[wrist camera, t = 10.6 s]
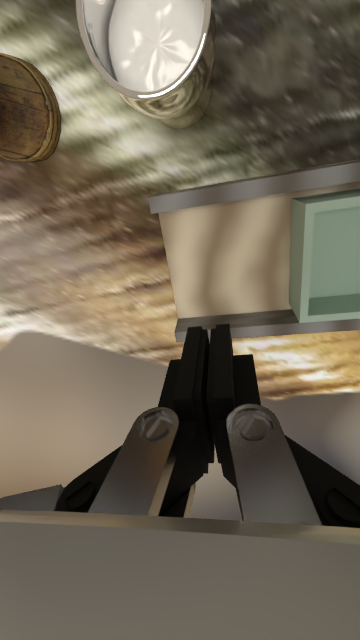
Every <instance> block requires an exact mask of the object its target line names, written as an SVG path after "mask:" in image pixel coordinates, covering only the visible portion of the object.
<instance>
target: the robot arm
mask: <svg viewBox="0 0 360 640" xmlns="http://www.w3.org/2000/svg"><path fill="white" fill-rule="evenodd" d="M214 446H215V448H216V453H217V458H218V463H221V465H222V471H223V476H224V477H225V478H226V479H227V480H228V481H229V482H230V483H231V484H232V485H233V486H234V487H235V488H236V492H237V498H238V503H239V508H240V514H241V519H242V521H233V520H215V519H197V518H189V516H190V512H191V507H192V503H193V499H194V494H195V487H196V484H195V482H196V481H198V480H199V479H200V478H201V477H202V476H203V473H208V463H214ZM0 640H360V485H358V484H356V483H355V482H353V481H352V480H351V479H349V478H348V477H346V476H345V475H343V474H342V473H340V472H339V471H337V470H336V469H334V468H333V467H332V466H330V465H329V464H327V463H326V462H324V461H323V460H321V459H320V458H318V457H317V456H315V455H314V454H312V453H311V452H309V451H308V450H306V449H305V448H303V447H302V446H300V445H299V444H297V443H296V442H294V441H293V440H292V439H290V438H288V437H287V436H286V435H284V433H283V431H282V428H281V426H280V423H279V421H278V419H277V417H276V416H275V414H274V413H272V411H270V410H269V409H268V408H265V407H263V406H261V403H260V397H259V391H258V384H257V378H256V372H255V366H254V360H253V355H252V354H250V355H235V356H233V348H232V339H231V331H230V323H228V324H218V325H216V328H213V329H211V334H210V343H209V337H208V331H207V329H202V326H196V327H188V329H187V333H186V338H185V343H184V348H183V352H182V357H181V359H177V360H171V361H170V363H169V367H168V370H167V374H166V378H165V382H164V386H163V389H162V393H161V397H160V401H159V404H158V407H155V408H152V409H149V410H147V411H145V412H143V413H142V414H141V415H140V416H139V417H138V418H137V419H136V421H135V422H134V424H133V426H132V428H131V430H130V432H129V434H128V435H127V437H126V440H125V441H124V443H123V445H122V446H120V447H119V448H117V449H116V450H115V451H113V452H112V453H110V454H109V455H108V456H106V457H105V458H104V459H102V460H101V461H99V462H98V463H96V464H95V465H94V466H92V467H91V468H89V469H88V470H86V471H85V472H84V473H82V474H81V475H79V476H78V477H77V478H75V479H74V480H73V481H72V482H71V483H69V484H68V485H67V486H66V487H64V488H63V487H62V485H56V486H52V487H47V488H42V489H38V490H33V491H29V492H24V493H20V494H15V495H11V496H7V497H3V498H0Z"/></svg>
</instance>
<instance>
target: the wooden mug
mask: <svg viewBox="0 0 360 640" xmlns="http://www.w3.org/2000/svg"><path fill="white" fill-rule="evenodd" d="M60 130H61V129H60V112H59V107H58V103H57V100H56V98H55V95H54V93H53V90H52V88H51V86H50V85H49V83H48V82H47V80H46V79H45V77H44V76H43V75H42V74H41V73H40V72H39V71H38V70H37V69H36V68H35V67H34V66H33V65H32V64H30V63H28V62H26V61H24V60H22V59H19V58H16V57H13V56H10V55H6V54H2V53H0V157H3V158H5V159H8V160H13V161H20V162H33V161H40V160H45V159H46V158H47V157H49V156H50V155H51V154H52V153H53V152H54V150H55V147H56V145H57V143H58V140H59V135H60Z"/></svg>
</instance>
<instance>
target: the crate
mask: <svg viewBox="0 0 360 640" xmlns="http://www.w3.org/2000/svg"><path fill="white" fill-rule="evenodd" d="M289 304H290V306H291V308H292V310H293V312H294V313H295V315H296V317H297V319H298V321H299V323H306V322H320V321H333V320H346V319H360V188H357V189H351V190H344V191H338V192H331V193H325V194H318V195H312V196H305V197H299V198H292V223H291V255H290V287H289Z"/></svg>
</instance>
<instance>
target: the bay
mask: <svg viewBox="0 0 360 640" xmlns="http://www.w3.org/2000/svg"><path fill="white" fill-rule="evenodd" d="M357 188H360V159H358V160H352V161H346V162H341V163H335V164H329V165H323V166H317V167H311V168H305V169H300V170H294V171H288V172H282V173H276V174H270V175H265V176H259V177H253V178H247V179H241V180H235V181H229V182H224V183H218V184H212V185H206V186H200V187H194V188H189V189H183V190H177V191H171V192H165V193H159V194H156V195H153V196H151V197H149V198H148V200H149V205H150V210H151V214H154V213H159V218H160V224H161V229H162V234H163V240H164V245H165V251H166V256H167V261H168V267H169V272H170V278H171V283H172V288H173V294H174V299H175V305H176V310H177V315H178V321H177V325H176V329H175V337H176V342H185V338H186V333H187V329H188V327H196V326H202V329H207V331H208V337H209V340H210V334H211V329H213V328H216V325H218V324H228V323H230V331H231V339H232V338H247V337H261V336H276V335H291V334H306V333H320V332H335V331H350V330H360V319H346V320H333V321H320V322H306V323H299V321H298V319H297V317H296V315H295V313H294V312H293V310H292V308H291V306H290V304H289V287H290V255H291V223H292V198H299V197H305V196H312V195H318V194H325V193H331V192H338V191H344V190H351V189H357Z"/></svg>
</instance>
